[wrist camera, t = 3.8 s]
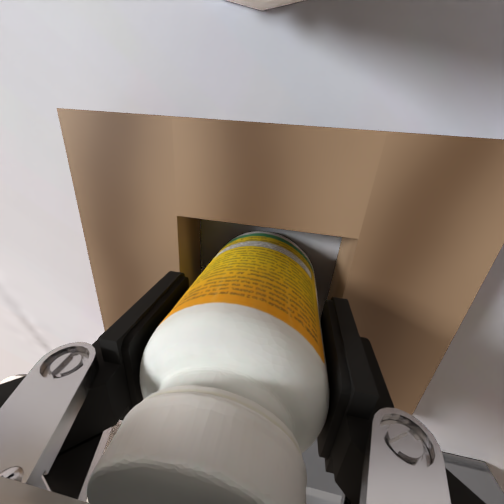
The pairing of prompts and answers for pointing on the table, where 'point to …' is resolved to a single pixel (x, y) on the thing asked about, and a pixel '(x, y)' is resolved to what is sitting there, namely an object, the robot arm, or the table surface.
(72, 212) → the table surface
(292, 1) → the decorative candle
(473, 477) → the tray
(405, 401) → the brown wooden square frame
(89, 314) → the table surface
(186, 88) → the table surface
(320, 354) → the supplement bottle
